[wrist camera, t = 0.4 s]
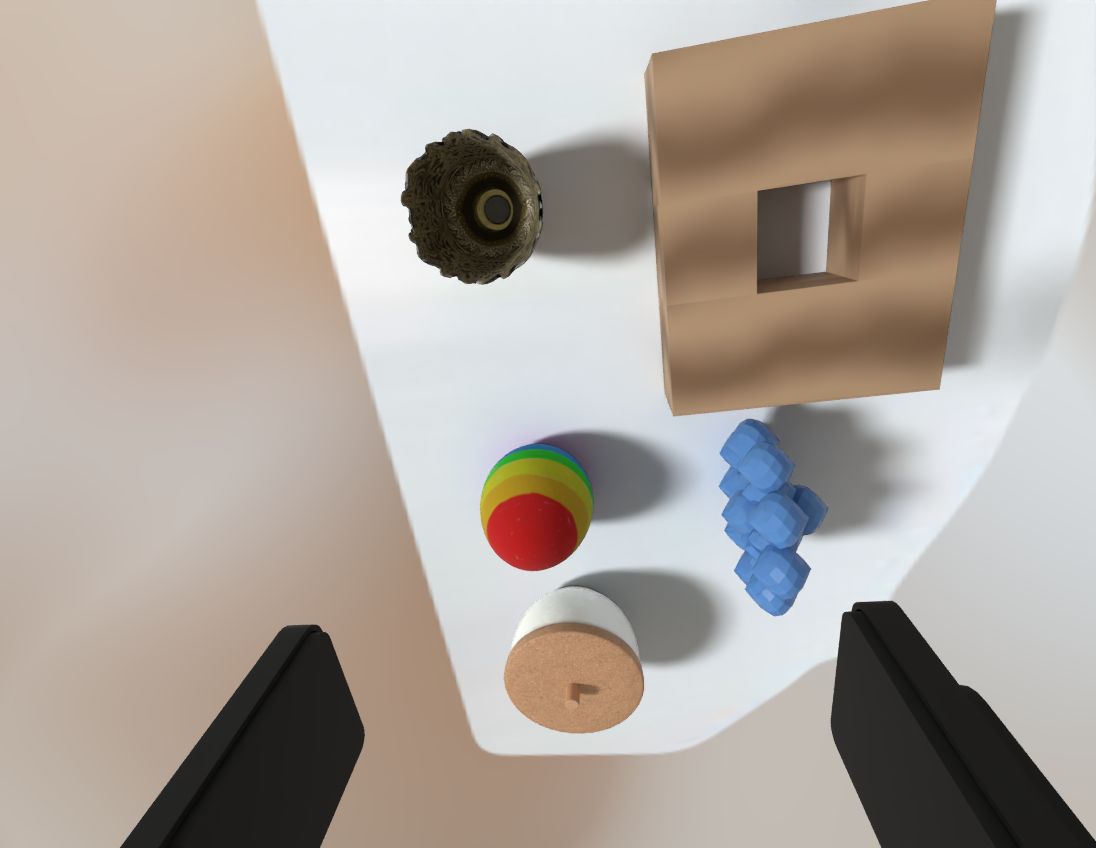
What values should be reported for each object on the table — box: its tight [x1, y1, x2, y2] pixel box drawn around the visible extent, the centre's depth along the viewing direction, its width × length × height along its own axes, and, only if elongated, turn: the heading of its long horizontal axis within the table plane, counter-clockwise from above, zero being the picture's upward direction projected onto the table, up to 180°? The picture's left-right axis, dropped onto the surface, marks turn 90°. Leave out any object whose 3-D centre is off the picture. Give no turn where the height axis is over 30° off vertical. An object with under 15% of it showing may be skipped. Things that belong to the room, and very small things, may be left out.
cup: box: [401, 129, 543, 285], centre depth 30 cm, size 7×7×8 cm
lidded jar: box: [504, 586, 644, 733], centre depth 42 cm, size 11×11×9 cm
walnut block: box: [644, 0, 996, 416], centre depth 31 cm, size 20×16×4 cm
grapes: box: [719, 419, 828, 616], centre depth 34 cm, size 12×7×12 cm, turn 7°
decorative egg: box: [480, 444, 593, 571], centre depth 37 cm, size 8×8×10 cm
